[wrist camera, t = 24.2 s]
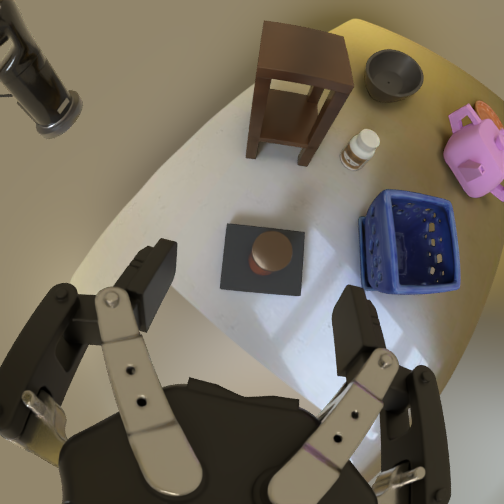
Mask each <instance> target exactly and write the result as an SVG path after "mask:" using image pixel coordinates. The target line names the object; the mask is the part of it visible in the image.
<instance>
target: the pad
mask: <svg viewBox="0 0 504 504" xmlns="http://www.w3.org/2000/svg"><path fill="white" fill-rule="evenodd" d="M267 231H277V232H280V233H282V234H283V235H285V236H286V237H287V238H288V239H289V241H290V243H291V245H292V250H293V253H292V258H291V260H290V262H289V264H288V265H287V266H286V267H285V268H283V269H281V270H279V271H276V272H274V273H272V274H269V275H265V276H263V275H258V274H256V273H255V272H254V271H253V270H252V269H251V268H250V266H249V262H248V258H249V254H250V252H251V250H252V246H253V243H254V241H255V240H256V238H257V237H258V236H259V235H261V234H262V233H264V232H267ZM304 237H305V232H299V231H291V230H282V229H274V228H265V227H256V226H247V225H237V224H227V228H226V237H225V246H224V255H223V264H222V273H221V283H220V289H225V290H235V291H245V292H256V293H267V294H279V295H291V296H300V295H301V282H302V269H303V254H304Z"/></svg>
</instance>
